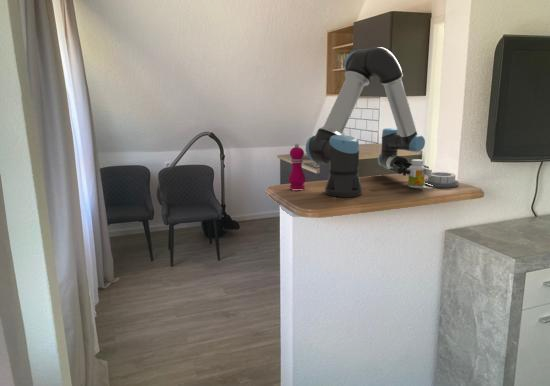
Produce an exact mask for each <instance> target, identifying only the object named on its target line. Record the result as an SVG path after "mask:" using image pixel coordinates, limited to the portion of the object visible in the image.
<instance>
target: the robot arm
mask: <svg viewBox="0 0 550 386" xmlns="http://www.w3.org/2000/svg"><path fill="white" fill-rule="evenodd" d="M344 71H345V72H344V77H345V80H344V82H343V84H342V86H341V88H340V91H339V93H338V95H337V97H336V99H335V101H334V103H333V106H332V107H331V109H330V112H329V114H328V116H327V118H326V121H325V123H324V125H323V126H322V127H318V129H317V131H316V134H315V135H312V136H311V137H309V138H308V140H307V141H306V143H305V152H306V156H307V158H308V159H309V160H310V161H312V162H313V163H316V164H319V165H322V164H323V165H326V166H329V175H328V178H327V181H326V184H325V188H324V190H325V191H324V193H325V195H327V194H328V195H327V196H330V195H333V196H332V197H334V196H338V197H337V198H355V197H359V196H361V195H362V194H363V186H362V184H361V180H360V177H359V161H360V160H359V159H360V146H359V140H358V139H357V137H354V136H352V135H345V134H343V132H344V130H345V128H346V126H347V124H348V122H349V119H350V118H351V115H352V112H353V111H354V109H355V107H356V105H357V102H358V100H359V98H360V96H361V93H362V92H363V89H364V87H367V86H369V85H370V82H371V81H372V79H373V77H376V78H378V80H379V83H380V84H381V85H383V87H384V90H385V94H386V95H385V96H386V98H387V101H388V105H389V107H390V110H391V113H392V117H393V120H394V123H395V126H396V127H391V128H390V127H388V128H383V129H382V134H381V151H380V154H379V155H378V156H377V163H378V165H379V166H381V167H382V168H383V169H385V170H386V169H387V170H389V171H391V172H393V173H396V174H399V175H401V174H402V176H405V177H407V175H408V176H409V175H410V176H412V177H416V170H413V169H410V168H409V167H410V166H411V165H412V164H411V162H409V160H408V159H407V158H406V157H402V156H400V155H398V151H404V152H405V151H407V152H411V153H414V152H415V153H417V152H418V153H419V152H421V151H422V150H423V149H424V148H425V144H426V140H425V138H424V136H422V135H420V134H418V131H417V129H416V124H415V121H414V118H413V115H412V112H411V107H410V104H409V101H408V97H407V94H406V92H405V90H406V89H405V87H404V84H403V80H402V79H403V77H404V74H403V72H402V71H403V70H402V67H401V65H400V63H399V62H398V60H397V58H396V57H395V55H394V54H393V53H392V52H391V51H390V50H388V49H387V48H385V47H380V46H377V47H372V48H363V49H362V48H361V49H360V48H359V49H357V50H353V51H351V52H350V53H349V54H348V55H347V57H346V58H345V61H344ZM422 166H424V167H425V174H424V176H427V177H428V176H432V172H433V170H432V169H430V167H429V166H427V164H426V165H425V164H422Z"/></svg>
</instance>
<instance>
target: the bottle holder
mask: <svg viewBox="0 0 550 386" xmlns="http://www.w3.org/2000/svg"><path fill="white" fill-rule="evenodd" d="M456 176H457V175H456V174H455V173H452V172H448V171H447V172H445V171H432V176H427V178H424V182H425V183H428V184H431V185H433V186H434V187H433V188H438V189H439V188H441V189H450V188H451V189H452V187H453V188H457V187H458V186H459V180H457V179H456ZM456 186H457V187H456Z"/></svg>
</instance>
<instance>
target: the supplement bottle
mask: <svg viewBox="0 0 550 386" xmlns="http://www.w3.org/2000/svg"><path fill="white" fill-rule="evenodd" d="M410 163H411V164H412V165H411V166H410V167H409V168H410V169H413V170H416V177H412V176H410V175H408V183H407V185H408V187H410V188H415V189H420V188H421V189H422V188H424V187H425V184H424V180H425V167H424V166H422V165H424V159H420V158H419V159H418V158H415V159H411V162H410Z"/></svg>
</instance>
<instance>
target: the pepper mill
mask: <svg viewBox="0 0 550 386" xmlns="http://www.w3.org/2000/svg"><path fill="white" fill-rule="evenodd" d="M289 155H290V157H291V158H290V162H291V165H292V166H291V167H292V168H291V172H290V174H289V175H288V176H289V178H288V182H289V184H290V185H289V189H290V188H292V189H304V190H305V185H304V184H305V183H306V176H305V173H304V172H303V168H302V167H303V165H302V164H303V157H304V155H305V153H304V150H303V148H302V147H300V145H299V143H295V144H294V147H293V148H291V149H290V151H289Z"/></svg>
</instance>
